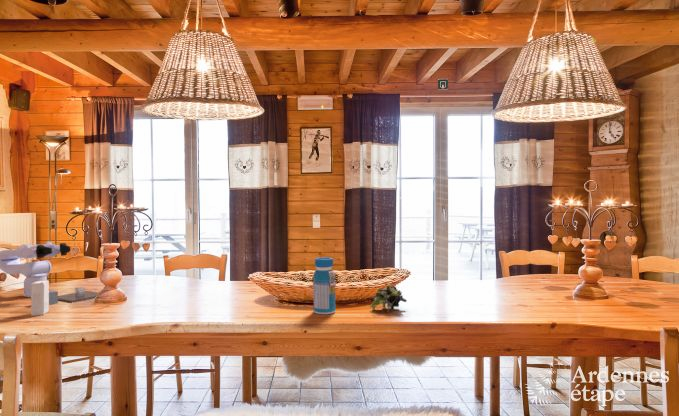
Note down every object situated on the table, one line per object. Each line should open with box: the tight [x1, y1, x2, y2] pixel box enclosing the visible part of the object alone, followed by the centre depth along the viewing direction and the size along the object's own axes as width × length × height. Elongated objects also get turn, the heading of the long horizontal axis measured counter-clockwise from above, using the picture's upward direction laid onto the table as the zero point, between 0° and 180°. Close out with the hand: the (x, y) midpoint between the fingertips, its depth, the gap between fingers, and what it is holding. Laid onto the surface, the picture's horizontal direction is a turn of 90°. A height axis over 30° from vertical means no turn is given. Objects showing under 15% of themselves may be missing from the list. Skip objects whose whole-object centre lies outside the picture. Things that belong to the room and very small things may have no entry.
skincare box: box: [30, 279, 50, 317], centre depth 170 cm, size 6×4×12 cm
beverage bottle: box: [312, 256, 337, 315], centre depth 168 cm, size 8×8×20 cm
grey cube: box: [49, 289, 59, 305], centre depth 188 cm, size 5×5×5 cm
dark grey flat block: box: [58, 286, 100, 303], centre depth 201 cm, size 16×16×4 cm
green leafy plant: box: [370, 284, 407, 314], centre depth 170 cm, size 11×11×12 cm
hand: (60, 249), depth 195 cm, fingers open, 7 cm apart
